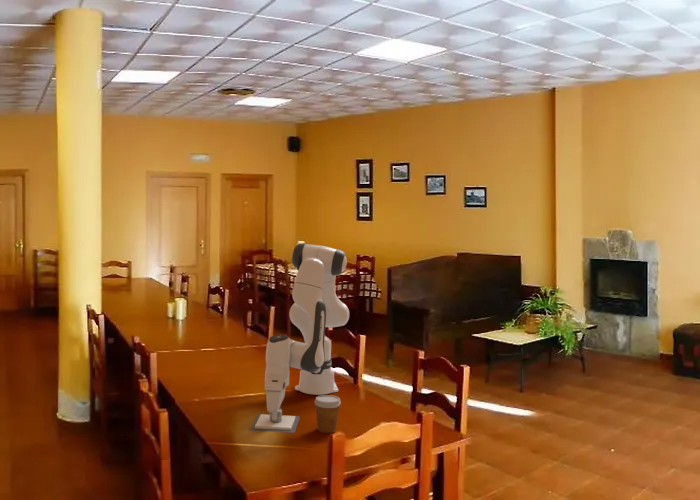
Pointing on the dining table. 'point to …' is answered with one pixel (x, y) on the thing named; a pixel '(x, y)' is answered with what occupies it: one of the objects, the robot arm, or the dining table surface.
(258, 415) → the mat
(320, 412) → the disposable coffee cup
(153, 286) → the dining table surface
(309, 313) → the robot arm
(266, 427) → the lid
